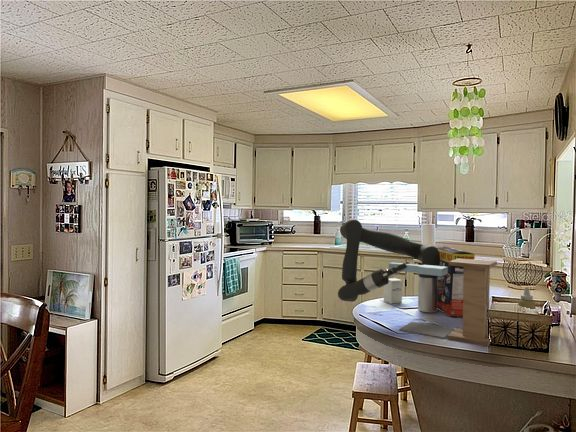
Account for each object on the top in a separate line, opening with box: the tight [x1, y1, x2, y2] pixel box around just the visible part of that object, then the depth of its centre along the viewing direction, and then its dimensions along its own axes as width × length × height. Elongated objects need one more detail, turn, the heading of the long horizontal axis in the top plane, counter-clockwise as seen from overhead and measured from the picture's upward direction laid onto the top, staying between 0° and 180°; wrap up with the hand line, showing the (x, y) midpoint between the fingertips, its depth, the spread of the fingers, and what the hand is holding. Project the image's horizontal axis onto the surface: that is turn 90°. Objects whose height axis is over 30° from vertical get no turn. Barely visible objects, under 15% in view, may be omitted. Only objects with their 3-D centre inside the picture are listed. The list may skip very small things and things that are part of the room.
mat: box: [398, 321, 456, 339], centre depth 184 cm, size 15×19×1 cm
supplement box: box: [383, 277, 403, 305], centre depth 239 cm, size 7×7×13 cm
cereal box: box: [436, 246, 476, 318], centre depth 218 cm, size 27×11×32 cm, turn 1°
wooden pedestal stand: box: [447, 258, 498, 347], centre depth 173 cm, size 14×15×31 cm
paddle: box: [388, 261, 448, 276], centre depth 187 cm, size 8×24×3 cm, turn 54°
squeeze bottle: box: [517, 286, 537, 310], centre depth 188 cm, size 8×8×18 cm
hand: (407, 264), depth 189 cm, fingers closed on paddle, 3 cm apart
